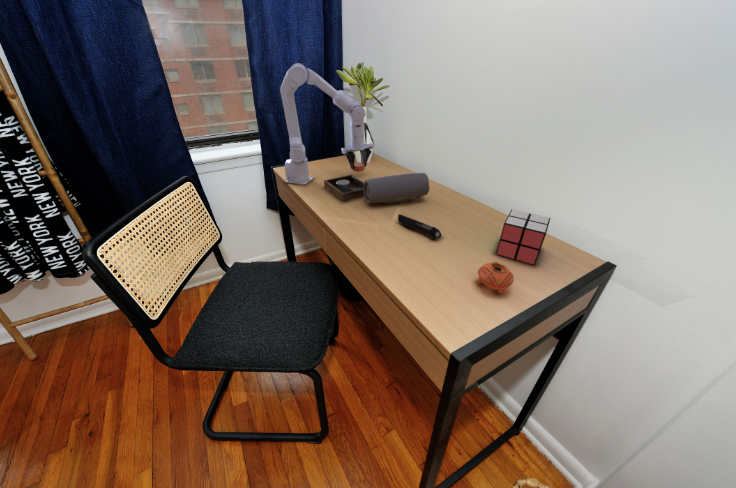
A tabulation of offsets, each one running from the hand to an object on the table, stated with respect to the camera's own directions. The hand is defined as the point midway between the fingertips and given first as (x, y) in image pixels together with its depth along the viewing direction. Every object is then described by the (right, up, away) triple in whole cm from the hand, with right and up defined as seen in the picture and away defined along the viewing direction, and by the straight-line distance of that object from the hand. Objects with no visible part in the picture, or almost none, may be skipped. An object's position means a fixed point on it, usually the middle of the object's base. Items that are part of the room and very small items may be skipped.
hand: (358, 167), depth 135 cm
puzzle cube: (+47, -36, -48) cm, 76 cm away
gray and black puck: (-6, -11, -9) cm, 15 cm away
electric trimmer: (+20, -29, -38) cm, 52 cm away
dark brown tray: (-4, -13, -12) cm, 18 cm away
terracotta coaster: (0, -1, +1) cm, 1 cm away
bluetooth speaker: (+15, -18, -19) cm, 30 cm away
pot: (+34, -44, -60) cm, 82 cm away
